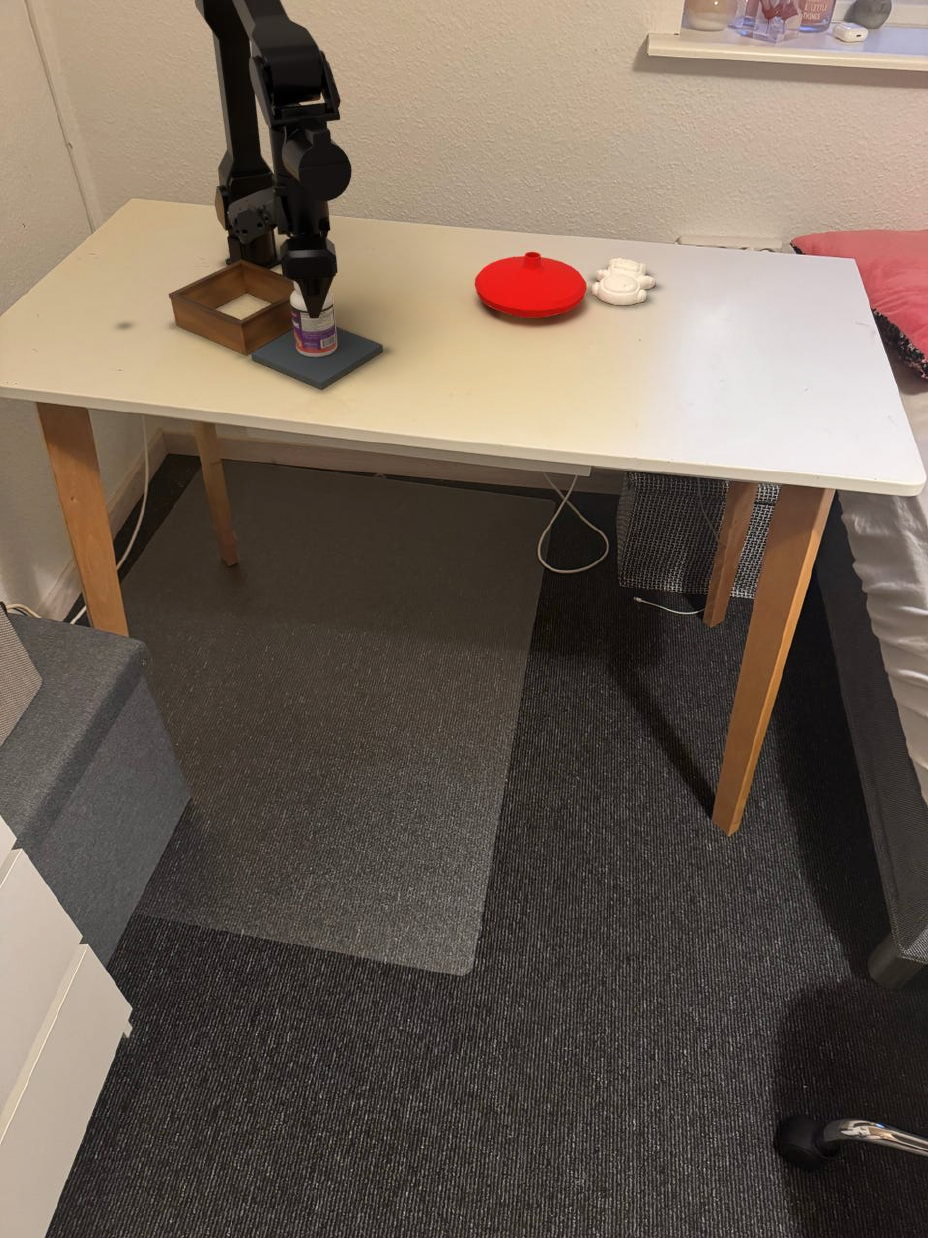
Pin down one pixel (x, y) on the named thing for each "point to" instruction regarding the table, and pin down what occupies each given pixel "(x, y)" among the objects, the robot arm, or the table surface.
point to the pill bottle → (313, 326)
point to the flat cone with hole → (530, 286)
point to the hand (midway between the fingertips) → (312, 300)
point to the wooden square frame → (225, 285)
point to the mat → (317, 358)
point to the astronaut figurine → (622, 282)
